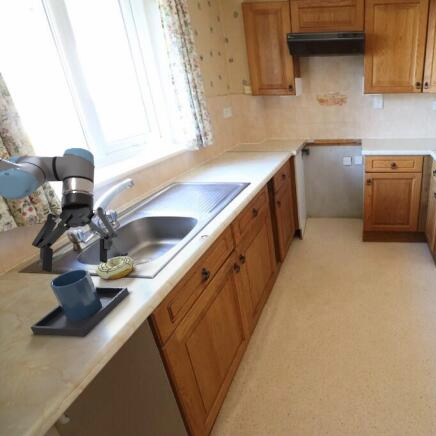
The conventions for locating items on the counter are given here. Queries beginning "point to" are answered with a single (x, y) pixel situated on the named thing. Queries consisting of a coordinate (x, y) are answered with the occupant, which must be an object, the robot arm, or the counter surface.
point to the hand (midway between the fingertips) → (75, 266)
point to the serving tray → (62, 326)
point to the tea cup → (76, 294)
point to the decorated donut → (115, 267)
